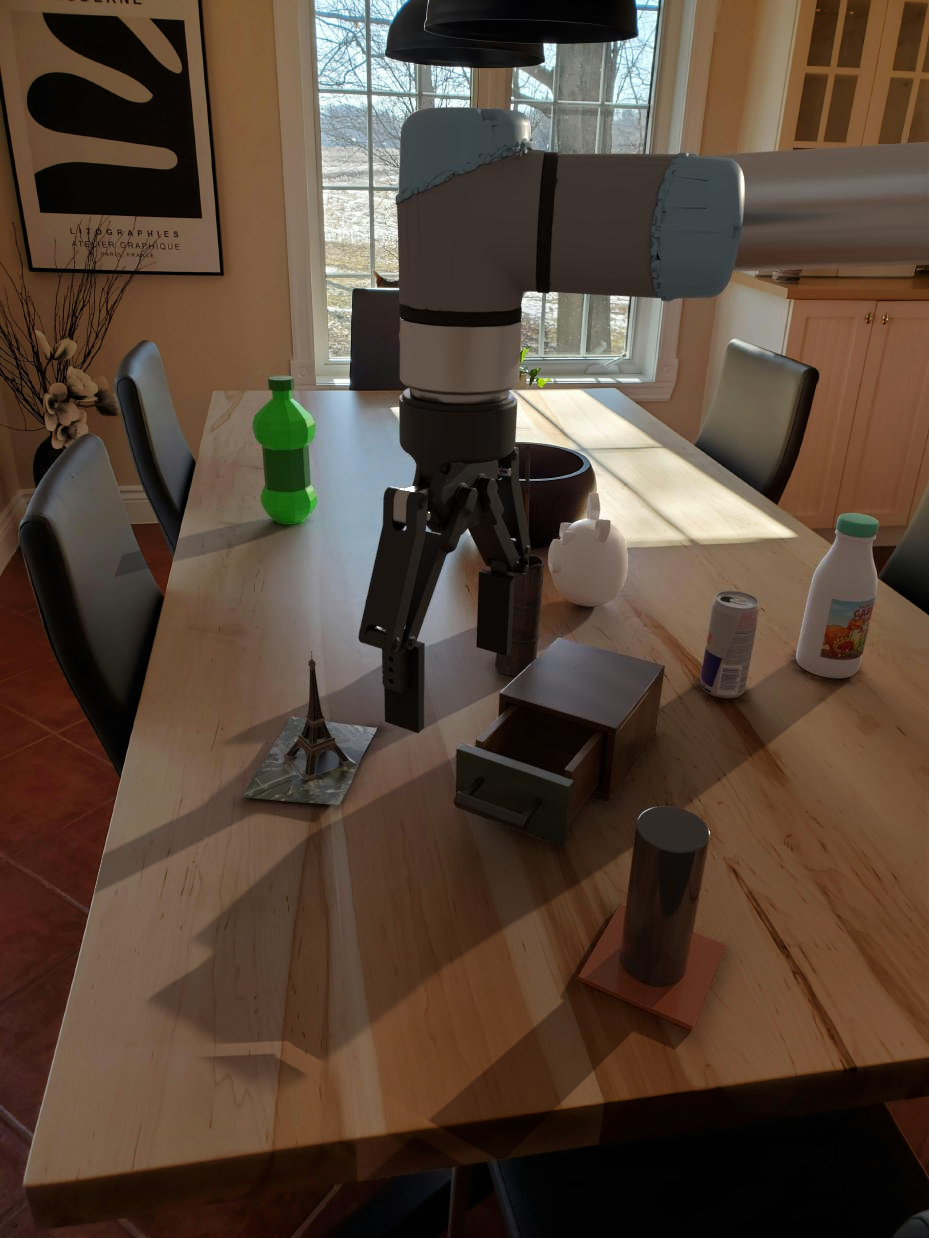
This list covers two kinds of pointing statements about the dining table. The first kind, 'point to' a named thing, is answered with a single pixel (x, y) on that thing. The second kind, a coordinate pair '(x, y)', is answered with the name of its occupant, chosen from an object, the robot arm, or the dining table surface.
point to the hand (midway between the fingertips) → (452, 684)
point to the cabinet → (594, 699)
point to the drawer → (530, 772)
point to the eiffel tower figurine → (311, 757)
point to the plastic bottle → (285, 454)
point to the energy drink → (729, 644)
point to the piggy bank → (589, 559)
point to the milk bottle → (840, 601)
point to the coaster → (663, 1001)
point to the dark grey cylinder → (663, 894)
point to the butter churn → (524, 606)
